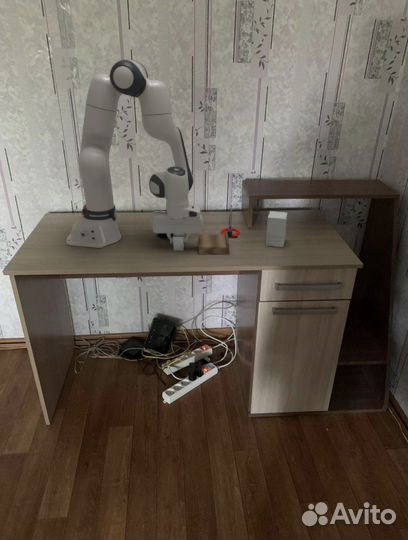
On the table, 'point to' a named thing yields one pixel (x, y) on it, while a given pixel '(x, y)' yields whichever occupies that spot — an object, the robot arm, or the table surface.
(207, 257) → the table surface
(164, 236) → the webcam
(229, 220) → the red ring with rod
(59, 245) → the table surface
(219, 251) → the wooden tray
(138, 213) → the table surface
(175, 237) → the aluminium block
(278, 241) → the supplement box
